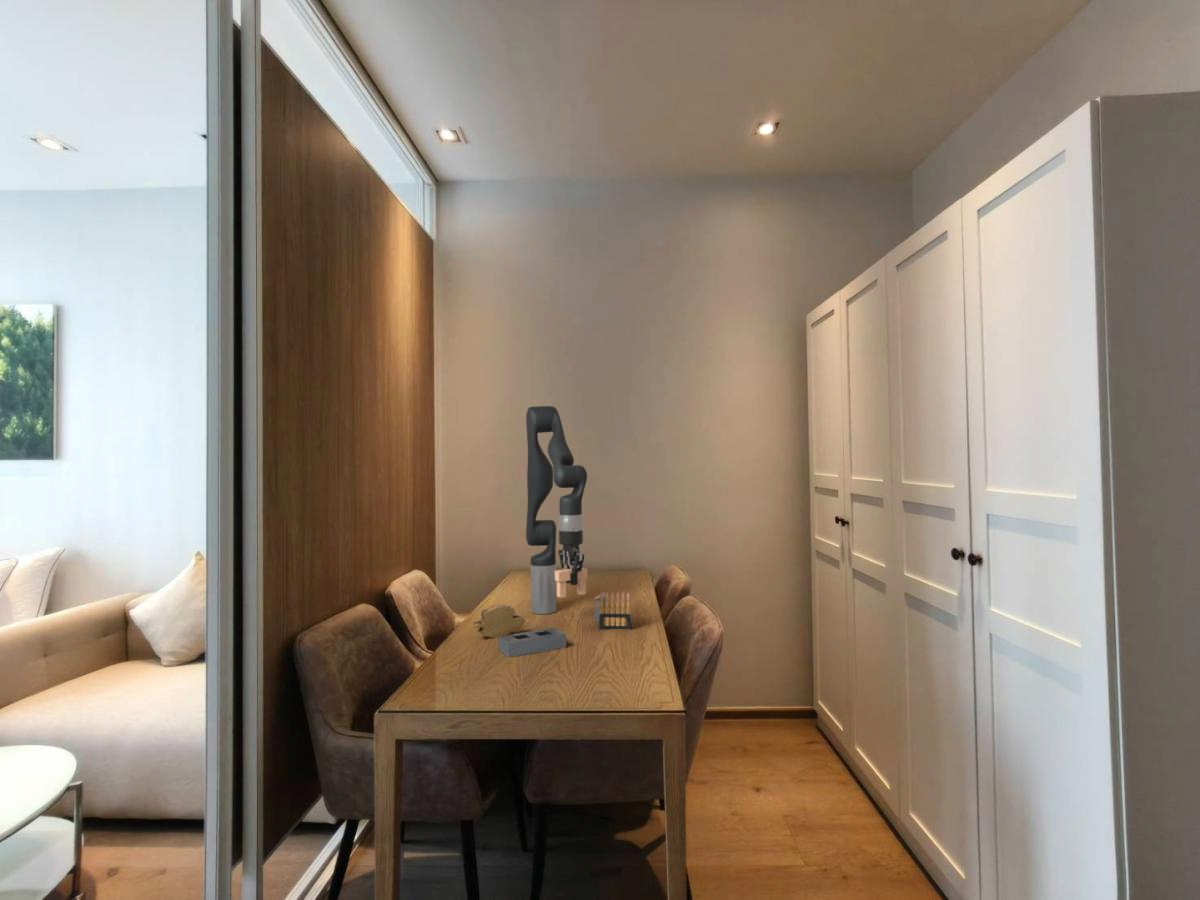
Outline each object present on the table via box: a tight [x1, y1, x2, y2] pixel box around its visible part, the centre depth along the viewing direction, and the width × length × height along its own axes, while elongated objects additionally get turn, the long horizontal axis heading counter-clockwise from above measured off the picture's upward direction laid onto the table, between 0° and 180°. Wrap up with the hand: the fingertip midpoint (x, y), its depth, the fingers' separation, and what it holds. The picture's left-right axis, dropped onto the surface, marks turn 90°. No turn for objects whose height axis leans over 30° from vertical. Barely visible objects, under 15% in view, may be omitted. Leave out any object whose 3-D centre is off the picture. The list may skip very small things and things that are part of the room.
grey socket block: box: [498, 627, 567, 658], centre depth 188 cm, size 8×18×4 cm, turn 120°
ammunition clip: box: [598, 591, 633, 630], centre depth 209 cm, size 11×2×12 cm, turn 84°
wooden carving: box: [473, 604, 526, 639], centre depth 201 cm, size 16×5×10 cm, turn 123°
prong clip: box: [555, 567, 588, 599], centre depth 201 cm, size 3×10×8 cm, turn 120°
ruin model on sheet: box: [593, 592, 607, 621], centre depth 225 cm, size 11×3×10 cm, turn 168°
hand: (571, 583), depth 201 cm, fingers closed on prong clip, 3 cm apart
